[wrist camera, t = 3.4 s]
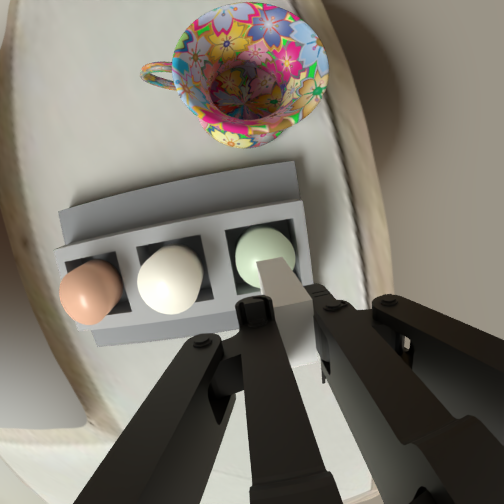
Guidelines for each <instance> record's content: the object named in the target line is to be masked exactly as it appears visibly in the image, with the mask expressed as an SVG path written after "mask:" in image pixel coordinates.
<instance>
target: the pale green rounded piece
mask: <svg viewBox="0 0 504 504" xmlns="http://www.w3.org/2000/svg"><path fill="white" fill-rule="evenodd" d="M279 257H283V258H284V260H285V261H286V263H287V264H288V266H289V267H290V268H291V270H292V271H293V269H294V266H295V252H294V249H293V246H292V244H291V243H290V241H289V240H288V239H287V238H286V237H285V236H284V235H283V234H282V233H281V232H280V231H278V230H277V229H276V228H274V227H272V226H270V225H265V224H258V225H253V226H251V227H249V228H247V229H246V230H244V231H243V232H242V233H241V235H240V236H239V238H238V239H237V242H236V246H235V258H236V267H237V270H238V272H239V274H240V276H241V277H242V278H243V280H244V281H245V282H247V283H248V284H250V285H252V286H254V287H257V288H260V283H259V277H258V271H257V266H256V262H257V261H263V260H268V259H273V258H279Z"/></svg>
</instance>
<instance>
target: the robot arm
mask: <svg viewBox="0 0 504 504" xmlns="http://www.w3.org/2000/svg"><path fill="white" fill-rule="evenodd" d="M256 266H257V271H258V277H259V283H260V289H261V294H262V295H256V296H250V297H246V298H243V299H241V300H239V301H238V302H237V303H236V304H235V309H236V314H237V319H238V324H239V332H238V333H237V334H236V335H235V336H233V337H231V338H229V339H226V340H223V341H221V338H220V336H219V335H217V334H214V333H205V334H204V333H201V334H199V335H195V336H194V337H192V338H190V339H188V340H187V341H186V342H185V343H184V345H183V346H182V348H181V349H180V350H179V352H178V353H177V355H176V356H175V358H174V359H173V360H172V362H171V363H170V365H169V366H168V368H167V369H166V370H165V372H164V373H163V375H162V376H161V378H160V379H159V380H158V382H157V383H156V385H155V386H154V388H153V389H152V390H151V392H150V393H149V395H148V396H147V398H146V399H145V401H144V402H143V403H142V405H141V406H140V408H139V409H138V411H137V412H136V413H135V415H134V416H133V418H132V419H131V421H130V422H129V424H128V425H127V426H126V428H125V429H124V431H123V432H122V434H121V435H120V436H119V438H118V439H117V441H116V442H115V444H114V445H113V447H112V448H111V449H110V451H109V452H108V454H107V455H106V457H105V458H104V460H103V461H102V462H101V464H100V465H99V467H98V468H97V470H96V471H95V473H94V474H93V475H92V477H91V478H90V480H89V481H88V483H87V484H86V486H85V487H84V488H83V490H82V491H81V493H80V494H79V496H78V497H77V499H76V500H75V501H74V503H73V504H200V501H201V498H202V496H203V493H204V490H205V487H206V484H207V482H208V479H209V476H210V473H211V470H212V468H213V465H214V462H215V459H216V456H217V453H218V451H219V448H220V445H221V442H222V439H223V436H224V433H225V430H226V427H227V424H228V421H229V418H230V415H231V412H232V409H233V406H234V403H235V400H236V394H235V393H237V392H240V391H242V390H244V395H245V407H246V418H247V429H248V440H249V451H250V462H251V472H252V486H251V487H250V491H249V493H250V504H343V502H342V499H341V496H340V494H339V491H338V488H337V485H336V482H335V480H334V478H333V475H332V474H331V472H330V471H328V472H327V470H326V469H325V466H324V463H323V460H322V457H321V454H320V451H319V448H318V445H317V442H316V439H315V436H314V433H313V430H312V427H311V424H310V421H309V418H308V415H307V413H306V410H305V407H304V404H303V401H302V398H301V395H300V392H299V389H298V386H297V383H296V380H295V377H294V374H293V371H292V368H294V367H299V366H304V365H308V364H312V363H317V362H318V353H319V355H320V357H321V370H322V383H325V379H327V381H328V383H329V385H330V387H331V390H332V392H333V394H334V396H335V398H336V400H337V402H338V404H339V406H340V409H341V411H342V413H343V415H344V417H345V419H346V421H347V423H348V426H349V428H350V430H351V432H352V434H353V436H354V438H355V441H356V443H357V445H358V447H359V449H360V451H361V454H362V456H363V458H364V460H365V462H366V464H367V467H368V469H369V471H370V473H371V475H372V477H373V480H374V482H375V484H376V486H377V488H378V490H379V493H380V495H381V497H382V499H383V502H384V504H504V340H502V339H500V338H498V337H495V336H493V335H491V334H488V333H486V332H484V331H482V330H479V329H477V328H474V327H472V326H470V325H468V324H465V323H463V322H461V321H458V320H456V319H454V318H451V317H449V316H447V315H444V314H442V313H440V312H437V311H435V310H432V309H430V308H428V307H425V306H423V305H421V304H418V303H416V302H414V301H411V300H409V299H406V298H404V297H402V296H398V295H392V294H387V295H386V294H385V295H382V296H379V297H377V298H375V299H374V300H373V301H372V309H368V310H356V309H355V308H354V307H353V306H352V305H351V304H350V303H349V302H347V301H344V300H336V299H335V298H334V297H333V295H332V294H330V292H329V291H328V290H327V289H326V288H325V286H323V285H320V284H317V283H316V284H311V285H306V286H303V285H302V284H301V283H300V281H299V280H298V278H297V277H296V275H295V274H294V273H293V271H292V270H291V268H290V267H289V266H288V264H287V263H286V261H285V260H284V258H283V257H279V258H273V259H268V260H263V261H257V262H256ZM405 336H406V337H408V338H409V339H410V348H409V349H407V348H405V347H404V339H405ZM317 351H318V352H317Z"/></svg>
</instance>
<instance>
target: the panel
mask: <svg viewBox="0 0 504 504" xmlns="http://www.w3.org/2000/svg"><path fill="white" fill-rule="evenodd" d="M58 213H59V218H60V223H61V228H62V233H63V237H64V242H65V245H64V246H62V247H59V248H57V249H55V250H53V251H54V255H55V259H56V263H57V267H58V270H59V274H60V277H61V281H62V279H63V278H64V276H65V275H66V274H68V273H69V272H71V271H72V270H74V269H76V268H77V267H79V266H81V265H83V264H84V263H86V262H88V261H90V260H93V259H101V260H105V261H107V262H109V263H110V264H112V265H113V266H114V267H115V268H116V269H117V271H118V272H119V274H120V276H121V279H122V282H123V293H122V297H121V299H120V300H119V302H118V303H117V304H116V305H115V306H114V307H113V308H112V310H111V311H110V312H109V313H108V314H107V315H106V316H105V317H104V319H103V320H102V321H100V322H99V323H97V324H94V325H84V324H81V323H79V322H77V321H75V320H74V321H75V324H76V326H77V329H78V331H87V330H91V332H92V334H93V337H94V340H95V342H96V345H97V347H101V346H112V345H123V344H133V343H143V342H152V341H160V340H168V339H176V338H184V337H191V336H195V335H199V334H201V333H204V334H205V333H218V332H224V331H230V330H236V329H239V324H238V319H237V314H236V309H235V304H236V303H237V302H238V301H239V300H241V299H243V298H246V297H250V296H256V295H262V294H261V289H260V288H257V287H254V286H252V285H250V284H248V283H247V282H245V281H244V280H243V278H242V277H241V276H240V274H239V272H238V270H237V267H236V258H235V246H236V242H237V239H238V238H239V236H240V235H241V233H242V232H243V231H244V230H246V229H247V228H249V227H251V226H253V225H258V224H265V225H270V226H272V227H274V228H276V229H277V230H278V231H280V232H281V233H282V234H283V235H284V236H285V237H286V238H287V239H288V240H289V241H290V243H291V244H292V246H293V249H294V252H295V266H294V269H293V273H294V274H295V275H296V277H297V278H298V280H299V281H300V283H301V284H302V285H303V286H306V285H311V284H313V275H312V267H311V258H310V250H309V242H308V235H307V227H306V220H305V213H304V206H303V200H301V199H300V193H299V186H298V180H297V174H296V168H295V162H294V161H288V162H281V163H274V164H267V165H260V166H254V167H248V168H242V169H236V170H230V171H224V172H219V173H213V174H208V175H203V176H198V177H193V178H188V179H183V180H178V181H174V182H169V183H164V184H160V185H156V186H151V187H147V188H143V189H138V190H134V191H130V192H126V193H122V194H118V195H115V196H111V197H107V198H103V199H99V200H96V201H92V202H89V203H85V204H82V205H78V206H75V207H71V208H68V209H65V210H61V211H58ZM169 244H182V245H185V246H187V247H189V248H191V249H192V250H194V251H195V252H196V253H197V255H198V256H199V257H200V259H201V261H202V264H203V269H204V275H203V280H202V283H201V286H200V290H199V293H198V296H197V299H196V301H195V302H194V304H193V305H192V306H191V307H190V308H189V309H187V310H186V311H184V312H181V313H178V314H163V313H160V312H157V311H155V310H154V309H152V308H151V307H149V306H148V305H147V304H146V303H145V302H144V300H143V299H142V297H141V295H140V293H139V290H138V285H137V278H138V273H139V270H140V268H141V266H142V265H143V264H144V263H145V261H146V260H148V259H149V258H150V257H151V256H152V255H153V254H154V253H155V252H156V251H157V250H159V249H160V248H161V247H163V246H165V245H169Z"/></svg>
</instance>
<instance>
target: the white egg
mask: <svg viewBox="0 0 504 504" xmlns="http://www.w3.org/2000/svg"><path fill="white" fill-rule="evenodd" d="M203 275H204V269H203V264H202V261H201V259H200V257H199V256H198V255H197V253H196V252H195V251H194V250H192V249H191V248H189V247H187V246H185V245H182V244H169V245H165V246H163V247H161V248H160V249H159V250H157V251H156V252H155V253H154V254H153V255H152V256H151V257H150V258H149V259H148V260H146V261H145V263H144V264H143V265H142V266H141V268H140V270H139V273H138V278H137V285H138V290H139V293H140V295H141V297H142V299H143V300H144V302H145V303H146V304H147V305H148V306H149V307H151V308H152V309H154V310H155V311H157V312H160V313H163V314H178V313H181V312H184V311H186V310H187V309H189V308H190V307H191V306H192V305H193V304H194V302H195V301H196V299H197V296H198V293H199V290H200V286H201V283H202V280H203Z"/></svg>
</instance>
